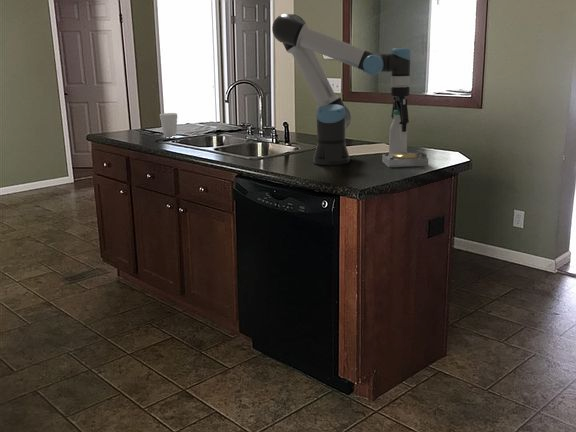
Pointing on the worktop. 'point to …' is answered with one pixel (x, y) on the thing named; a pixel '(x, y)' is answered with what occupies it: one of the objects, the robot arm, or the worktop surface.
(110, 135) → the worktop surface
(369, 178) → the worktop surface
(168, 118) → the foam cup
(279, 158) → the worktop surface
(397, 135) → the milk bottle
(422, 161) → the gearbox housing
